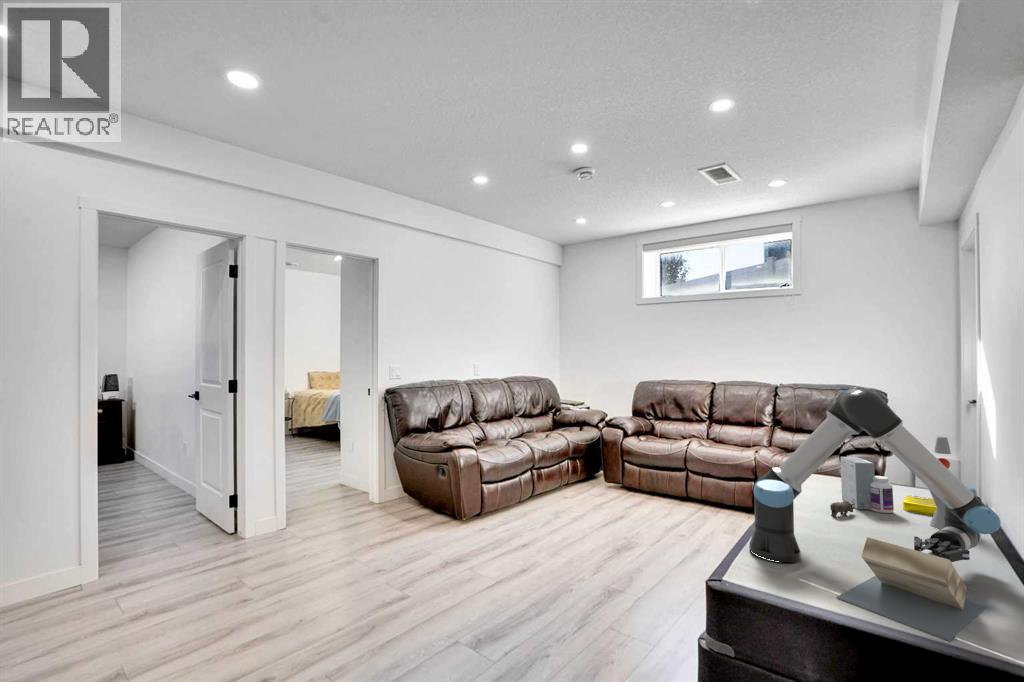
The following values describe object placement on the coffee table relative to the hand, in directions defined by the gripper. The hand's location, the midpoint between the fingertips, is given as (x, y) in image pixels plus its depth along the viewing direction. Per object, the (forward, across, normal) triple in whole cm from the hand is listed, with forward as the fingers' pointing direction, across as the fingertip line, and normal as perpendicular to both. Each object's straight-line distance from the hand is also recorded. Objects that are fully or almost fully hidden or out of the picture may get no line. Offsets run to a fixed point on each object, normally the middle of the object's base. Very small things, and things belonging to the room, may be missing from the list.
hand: (920, 559), depth 134 cm
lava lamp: (-76, +16, -10) cm, 78 cm away
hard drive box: (-80, +46, -10) cm, 93 cm away
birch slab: (-2, 0, -8) cm, 8 cm away
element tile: (-96, +27, -10) cm, 101 cm away
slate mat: (+6, 0, -10) cm, 12 cm away
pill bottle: (-78, +37, -10) cm, 87 cm away
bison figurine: (-59, +43, -11) cm, 74 cm away
